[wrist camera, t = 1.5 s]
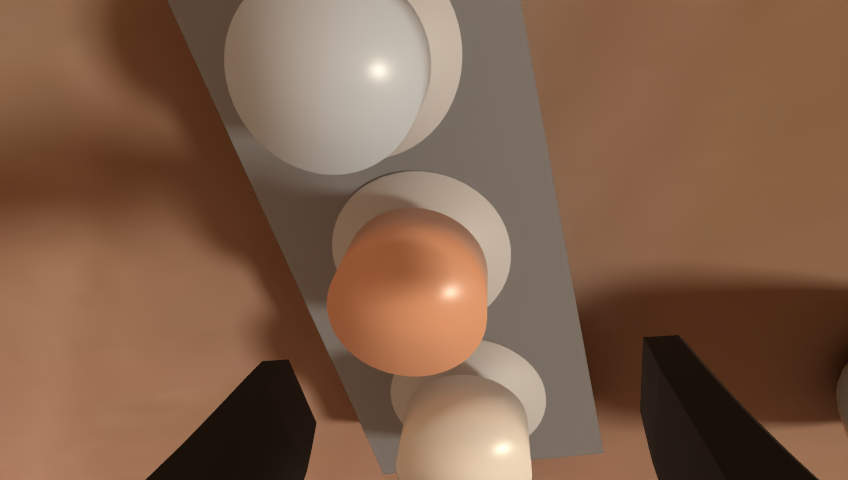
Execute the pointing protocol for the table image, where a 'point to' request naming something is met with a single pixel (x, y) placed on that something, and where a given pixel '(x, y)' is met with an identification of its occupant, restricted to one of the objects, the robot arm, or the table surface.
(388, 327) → the terracotta button
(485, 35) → the console
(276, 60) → the light grey button
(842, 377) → the cup
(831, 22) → the table surface
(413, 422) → the cream button
